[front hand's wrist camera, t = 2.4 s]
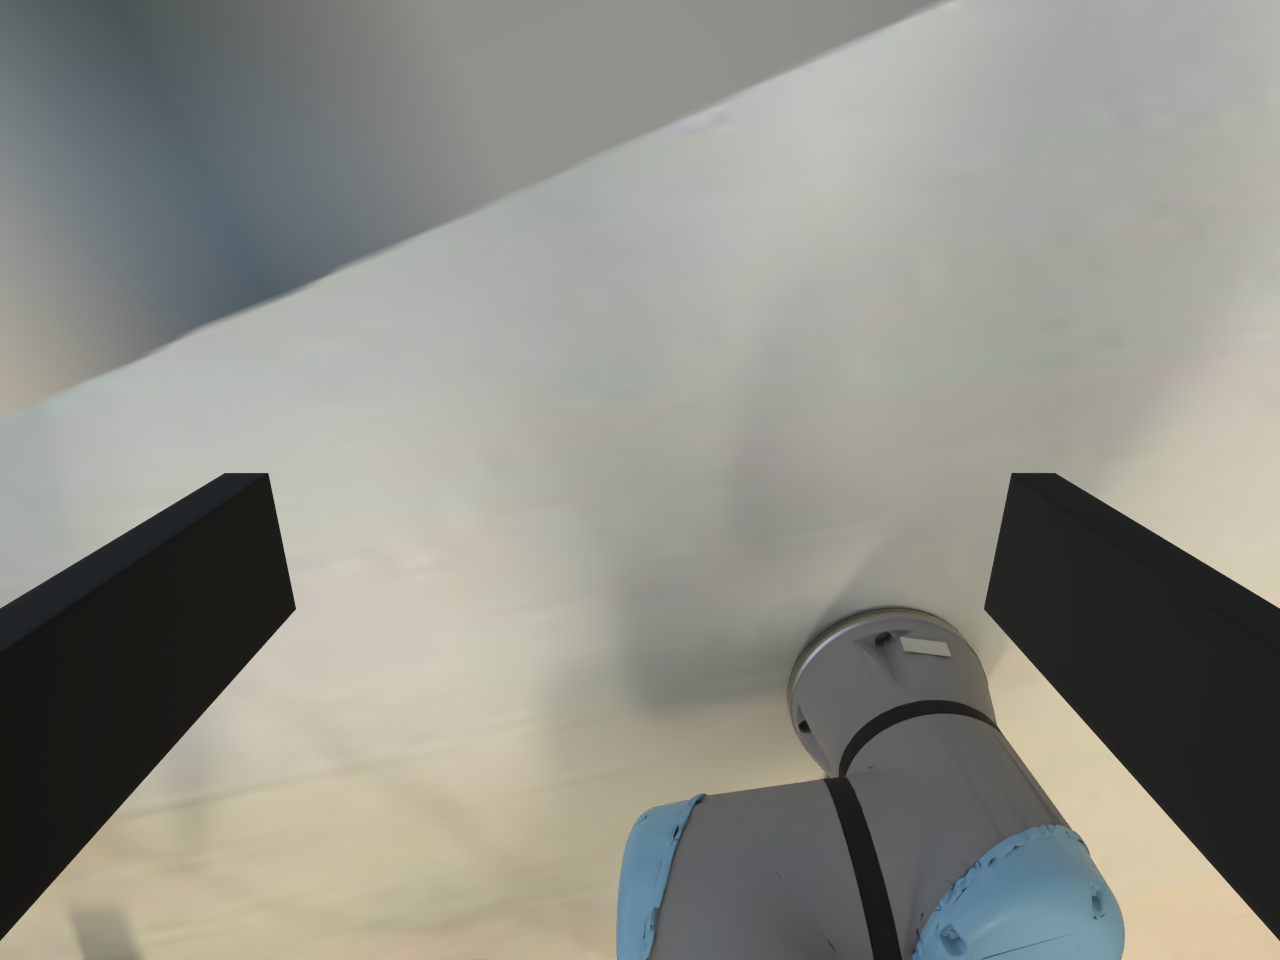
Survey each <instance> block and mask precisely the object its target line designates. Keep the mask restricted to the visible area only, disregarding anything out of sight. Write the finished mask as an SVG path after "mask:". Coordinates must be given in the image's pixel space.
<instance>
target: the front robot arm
mask: <svg viewBox="0 0 1280 960" xmlns="http://www.w3.org/2000/svg"><path fill="white" fill-rule="evenodd" d="M295 610H296V607H295V602H294V597H293V592H292V587H291V582H290V577H289V572H288V567H287V563H286V558H285V553H284V548H283V543H282V538H281V533H280V528H279V523H278V518H277V514H276V509H275V504H274V499H273V494H272V489H271V484H270V479H269V474H268V473H224V474H223V475H221V476H219V477H218V478H216V479H214V480H213V481H211V482H209V483H208V484H206V485H204V486H203V487H201V488H200V489H198V490H196V491H195V492H193V493H191V494H190V495H188V496H186V497H185V498H183V499H181V500H180V501H178V502H176V503H175V504H173V505H171V506H170V507H168V508H166V509H165V510H163V511H161V512H160V513H158V514H156V515H155V516H153V517H151V518H150V519H148V520H146V521H145V522H143V523H141V524H140V525H138V526H136V527H135V528H133V529H132V530H130V531H128V532H127V533H125V534H123V535H122V536H120V537H118V538H117V539H115V540H113V541H112V542H110V543H108V544H107V545H105V546H103V547H102V548H100V549H98V550H97V551H95V552H93V553H92V554H90V555H88V556H87V557H85V558H83V559H82V560H80V561H78V562H77V563H75V564H73V565H72V566H70V567H68V568H67V569H65V570H64V571H62V572H60V573H59V574H57V575H55V576H54V577H52V578H50V579H49V580H47V581H45V582H44V583H42V584H40V585H39V586H37V587H35V588H34V589H32V590H30V591H29V592H27V593H25V594H24V595H22V596H20V597H19V598H17V599H15V600H14V601H12V602H10V603H9V604H7V605H5V606H4V607H2V608H0V941H1V939H2V938H3V937H4V936H5V935H6V934H7V933H8V932H9V930H10V929H11V928H12V927H13V926H14V925H15V924H16V923H17V921H18V920H19V919H20V918H21V917H22V916H23V915H24V914H25V913H26V911H27V910H28V909H29V908H30V907H31V906H32V905H33V904H34V902H35V901H36V900H37V899H38V898H39V897H40V896H41V895H42V893H43V892H44V891H45V890H46V889H47V888H48V887H49V886H50V884H51V883H52V882H53V881H54V880H55V879H56V878H57V877H58V875H59V874H60V873H61V872H62V871H63V870H64V869H65V868H66V866H67V865H68V864H69V863H70V862H71V861H72V860H73V859H74V858H75V856H76V855H77V854H78V853H79V852H80V851H81V850H82V849H83V847H84V846H85V845H86V844H87V843H88V842H89V841H90V840H91V838H92V837H93V836H94V835H95V834H96V833H97V832H98V831H99V829H100V828H101V827H102V826H103V825H104V824H105V823H106V822H107V820H108V819H109V818H110V817H111V816H112V815H113V814H114V813H115V812H116V810H117V809H118V808H119V807H120V806H121V805H122V804H123V803H124V801H125V800H126V799H127V798H128V797H129V796H130V795H131V794H132V792H133V791H134V790H135V789H136V788H137V787H138V786H139V785H140V783H141V782H142V781H143V780H144V779H145V778H146V777H147V776H148V774H149V773H150V772H151V771H152V770H153V769H154V768H155V767H156V765H157V764H158V763H159V762H160V761H161V760H162V759H163V758H164V757H165V755H166V754H167V753H168V752H169V751H170V750H171V749H172V748H173V746H174V745H175V744H176V743H177V742H178V741H179V740H180V739H181V737H182V736H183V735H184V734H185V733H186V732H187V731H188V730H189V728H190V727H191V726H192V725H193V724H194V723H195V722H196V721H197V719H198V718H199V717H200V716H201V715H202V714H203V713H204V712H205V711H206V709H207V708H208V707H209V706H210V705H211V704H212V703H213V702H214V700H215V699H216V698H217V697H218V696H219V695H220V694H221V693H222V691H223V690H224V689H225V688H226V687H227V686H228V685H229V684H230V682H231V681H232V680H233V679H234V678H235V677H236V676H237V675H238V673H239V672H240V671H241V670H242V669H243V668H244V667H245V666H246V664H247V663H248V662H249V661H250V660H251V659H252V658H253V657H254V656H255V654H256V653H257V652H258V651H259V650H260V649H261V648H262V647H263V645H264V644H265V643H266V642H267V641H268V640H269V639H270V638H271V636H272V635H273V634H274V633H275V632H276V631H277V630H278V629H279V627H280V626H281V625H282V624H283V623H284V622H285V621H286V620H287V618H288V617H289V616H290V615H291V614H292V613H293V612H294V611H295ZM984 610H985V611H986V612H987V613H988V614H989V615H990V616H991V617H992V618H993V620H994V621H995V622H996V623H997V624H998V625H999V626H1000V627H1001V629H1002V630H1003V631H1004V632H1005V633H1006V634H1007V635H1008V636H1009V638H1010V639H1011V640H1012V641H1013V642H1014V643H1015V644H1016V645H1017V647H1018V648H1019V649H1020V650H1021V651H1022V652H1023V653H1024V654H1025V656H1026V657H1027V658H1028V659H1029V660H1030V661H1031V662H1032V663H1033V664H1034V666H1035V667H1036V668H1037V669H1038V670H1039V671H1040V672H1041V673H1042V675H1043V676H1044V677H1045V678H1046V679H1047V680H1048V681H1049V682H1050V684H1051V685H1052V686H1053V687H1054V688H1055V689H1056V690H1057V691H1058V693H1059V694H1060V695H1061V696H1062V697H1063V698H1064V699H1065V700H1066V702H1067V703H1068V704H1069V705H1070V706H1071V707H1072V708H1073V709H1074V711H1075V712H1076V713H1077V714H1078V715H1079V716H1080V717H1081V718H1082V719H1083V721H1084V722H1085V723H1086V724H1087V725H1088V726H1089V727H1090V728H1091V730H1092V731H1093V732H1094V733H1095V734H1096V735H1097V736H1098V737H1099V739H1100V740H1101V741H1102V742H1103V743H1104V744H1105V745H1106V746H1107V748H1108V749H1109V750H1110V751H1111V752H1112V753H1113V754H1114V755H1115V757H1116V758H1117V759H1118V760H1119V761H1120V762H1121V763H1122V764H1123V765H1124V767H1125V768H1126V769H1127V770H1128V771H1129V772H1130V773H1131V774H1132V776H1133V777H1134V778H1135V779H1136V780H1137V781H1138V782H1139V783H1140V785H1141V786H1142V787H1143V788H1144V789H1145V790H1146V791H1147V792H1148V794H1149V795H1150V796H1151V797H1152V798H1153V799H1154V800H1155V801H1156V803H1157V804H1158V805H1159V806H1160V807H1161V808H1162V809H1163V810H1164V812H1165V813H1166V814H1167V815H1168V816H1169V817H1170V818H1171V819H1172V820H1173V822H1174V823H1175V824H1176V825H1177V826H1178V827H1179V828H1180V829H1181V831H1182V832H1183V833H1184V834H1185V835H1186V836H1187V837H1188V838H1189V840H1190V841H1191V842H1192V843H1193V844H1194V845H1195V846H1196V847H1197V849H1198V850H1199V851H1200V852H1201V853H1202V854H1203V855H1204V856H1205V858H1206V859H1207V860H1208V861H1209V862H1210V863H1211V864H1212V865H1213V866H1214V868H1215V869H1216V870H1217V871H1218V872H1219V873H1220V874H1221V875H1222V877H1223V878H1224V879H1225V880H1226V881H1227V882H1228V883H1229V884H1230V886H1231V887H1232V888H1233V889H1234V890H1235V891H1236V892H1237V893H1238V895H1239V896H1240V897H1241V898H1242V899H1243V900H1244V901H1245V902H1246V904H1247V905H1248V906H1249V907H1250V908H1251V909H1252V910H1253V911H1254V913H1255V914H1256V915H1257V916H1258V917H1259V918H1260V919H1261V920H1262V921H1263V923H1264V924H1265V925H1266V926H1267V927H1268V928H1269V929H1270V930H1271V932H1272V933H1273V934H1274V935H1275V936H1276V937H1277V938H1278V939H1279V941H1280V608H1278V607H1276V606H1275V605H1273V604H1271V603H1270V602H1268V601H1266V600H1265V599H1263V598H1261V597H1260V596H1258V595H1256V594H1255V593H1253V592H1251V591H1250V590H1248V589H1246V588H1245V587H1243V586H1241V585H1240V584H1238V583H1236V582H1235V581H1233V580H1231V579H1230V578H1228V577H1226V576H1225V575H1223V574H1221V573H1220V572H1218V571H1216V570H1215V569H1213V568H1212V567H1210V566H1208V565H1207V564H1205V563H1203V562H1202V561H1200V560H1198V559H1197V558H1195V557H1193V556H1192V555H1190V554H1188V553H1187V552H1185V551H1183V550H1182V549H1180V548H1178V547H1177V546H1175V545H1173V544H1172V543H1170V542H1168V541H1167V540H1165V539H1163V538H1162V537H1160V536H1158V535H1157V534H1155V533H1153V532H1152V531H1150V530H1148V529H1147V528H1145V527H1144V526H1142V525H1140V524H1139V523H1137V522H1135V521H1134V520H1132V519H1130V518H1129V517H1127V516H1125V515H1124V514H1122V513H1120V512H1119V511H1117V510H1115V509H1114V508H1112V507H1110V506H1109V505H1107V504H1105V503H1104V502H1102V501H1100V500H1099V499H1097V498H1095V497H1094V496H1092V495H1090V494H1089V493H1087V492H1085V491H1084V490H1082V489H1080V488H1079V487H1077V486H1076V485H1074V484H1072V483H1071V482H1069V481H1067V480H1066V479H1064V478H1062V477H1061V476H1059V475H1057V474H1056V473H1012V474H1011V479H1010V484H1009V489H1008V494H1007V499H1006V504H1005V509H1004V514H1003V518H1002V523H1001V528H1000V533H999V538H998V543H997V548H996V553H995V558H994V563H993V567H992V572H991V577H990V582H989V587H988V592H987V597H986V602H985V607H984ZM788 708H789V712H790V716H791V719H792V722H793V726H794V728H795V731H796V734H797V736H798V737H799V739H800V741H801V742H802V744H803V746H804V747H805V749H806V750H807V752H808V753H809V754H810V755H811V757H812V758H813V759H814V760H815V761H816V762H817V763H818V765H819V766H820V767H821V768H822V769H823V770H824V771H825V773H826V774H827V775H828V776H829V777H830V778H829V779H820V780H814V781H808V782H801V783H794V784H787V785H780V786H773V787H766V788H759V789H751V790H744V791H737V792H730V793H723V794H716V795H709V796H708V795H706V794H698V795H696V796H694V797H693V798H692V799H691V800H686V801H681V802H676V803H671V804H666V805H661V806H657V807H653V808H651V809H649V810H647V811H646V812H644V813H643V814H642V815H641V816H640V817H639V818H638V820H637V821H636V822H635V824H634V826H633V828H632V831H631V833H630V834H629V837H628V840H627V843H626V847H625V851H624V855H623V861H622V867H621V874H620V882H619V892H618V906H617V960H1121V958H1122V954H1123V949H1124V942H1125V929H1124V921H1123V917H1122V913H1121V910H1120V907H1119V904H1118V902H1117V900H1116V898H1115V896H1114V895H1113V893H1112V891H1111V889H1110V888H1109V886H1108V885H1107V883H1106V881H1105V880H1104V878H1103V877H1102V875H1101V873H1100V872H1099V870H1098V868H1097V867H1096V865H1095V864H1094V862H1093V860H1092V859H1091V857H1090V854H1089V850H1088V848H1087V846H1086V844H1084V841H1083V840H1082V838H1081V837H1080V836H1079V835H1078V834H1077V833H1076V832H1075V831H1073V830H1072V829H1071V828H1070V826H1069V825H1068V823H1067V822H1066V821H1065V819H1064V818H1063V817H1062V815H1061V814H1060V812H1059V811H1058V810H1057V808H1056V807H1055V805H1054V804H1053V803H1052V801H1051V800H1050V799H1049V797H1048V796H1047V794H1046V793H1045V792H1044V790H1043V789H1042V787H1041V786H1040V785H1039V783H1038V782H1037V781H1036V779H1035V778H1034V776H1033V775H1032V774H1031V772H1030V771H1029V770H1028V768H1027V767H1026V765H1025V764H1024V763H1023V761H1022V760H1021V758H1020V757H1019V756H1018V754H1017V753H1016V752H1015V750H1014V749H1013V747H1012V746H1011V745H1010V743H1009V742H1008V741H1007V739H1006V738H1005V737H1004V735H1003V734H1002V732H1001V731H1000V730H999V728H998V727H997V723H996V719H995V714H994V709H993V705H992V701H991V697H990V693H989V689H988V682H987V678H986V675H985V672H984V669H983V667H982V665H981V662H980V660H979V659H978V657H977V655H976V653H975V652H974V651H973V649H972V648H971V647H970V645H969V644H968V643H967V642H966V640H965V639H964V638H963V637H962V636H961V634H960V633H959V632H958V631H957V630H955V629H954V628H953V627H952V626H950V625H949V624H947V623H946V622H944V621H943V620H941V619H939V618H937V617H934V616H932V615H930V614H927V613H923V612H920V611H915V610H909V609H880V610H873V611H868V612H864V613H861V614H857V615H854V616H852V617H849V618H847V619H844V620H842V621H840V622H839V623H837V624H835V625H833V626H832V627H830V628H828V629H827V630H825V631H824V632H823V633H821V634H820V635H819V636H818V637H817V638H816V639H815V640H813V641H812V642H811V643H810V645H809V646H808V647H807V648H806V649H805V650H804V652H803V653H802V654H801V656H800V657H799V659H798V661H797V662H796V664H795V667H794V669H793V671H792V674H791V677H790V680H789V685H788Z"/></svg>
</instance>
